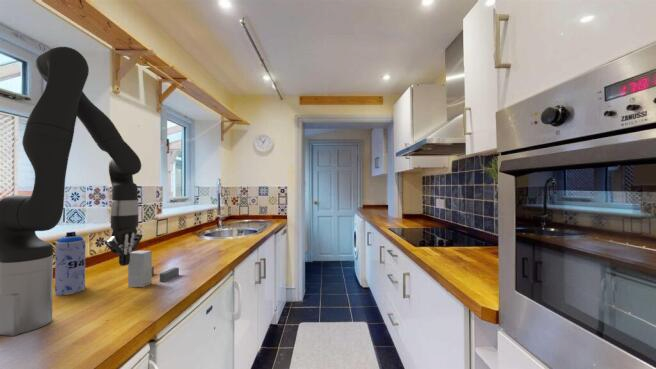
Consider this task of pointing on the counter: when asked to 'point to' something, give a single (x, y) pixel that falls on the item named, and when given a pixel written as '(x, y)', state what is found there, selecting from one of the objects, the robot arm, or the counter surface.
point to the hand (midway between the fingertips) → (124, 264)
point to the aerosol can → (69, 264)
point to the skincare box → (140, 269)
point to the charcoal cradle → (167, 274)
